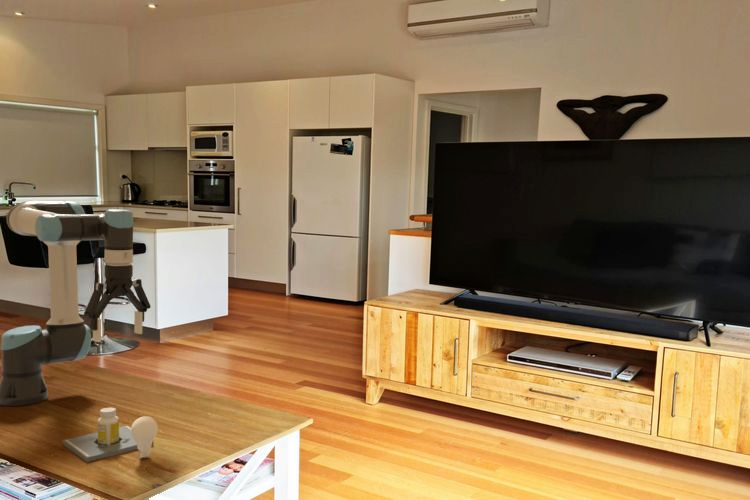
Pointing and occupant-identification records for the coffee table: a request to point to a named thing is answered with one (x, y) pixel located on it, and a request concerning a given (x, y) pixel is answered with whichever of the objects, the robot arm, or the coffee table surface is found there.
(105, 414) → the supplement bottle
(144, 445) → the light bulb
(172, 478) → the coffee table surface
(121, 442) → the socket board
